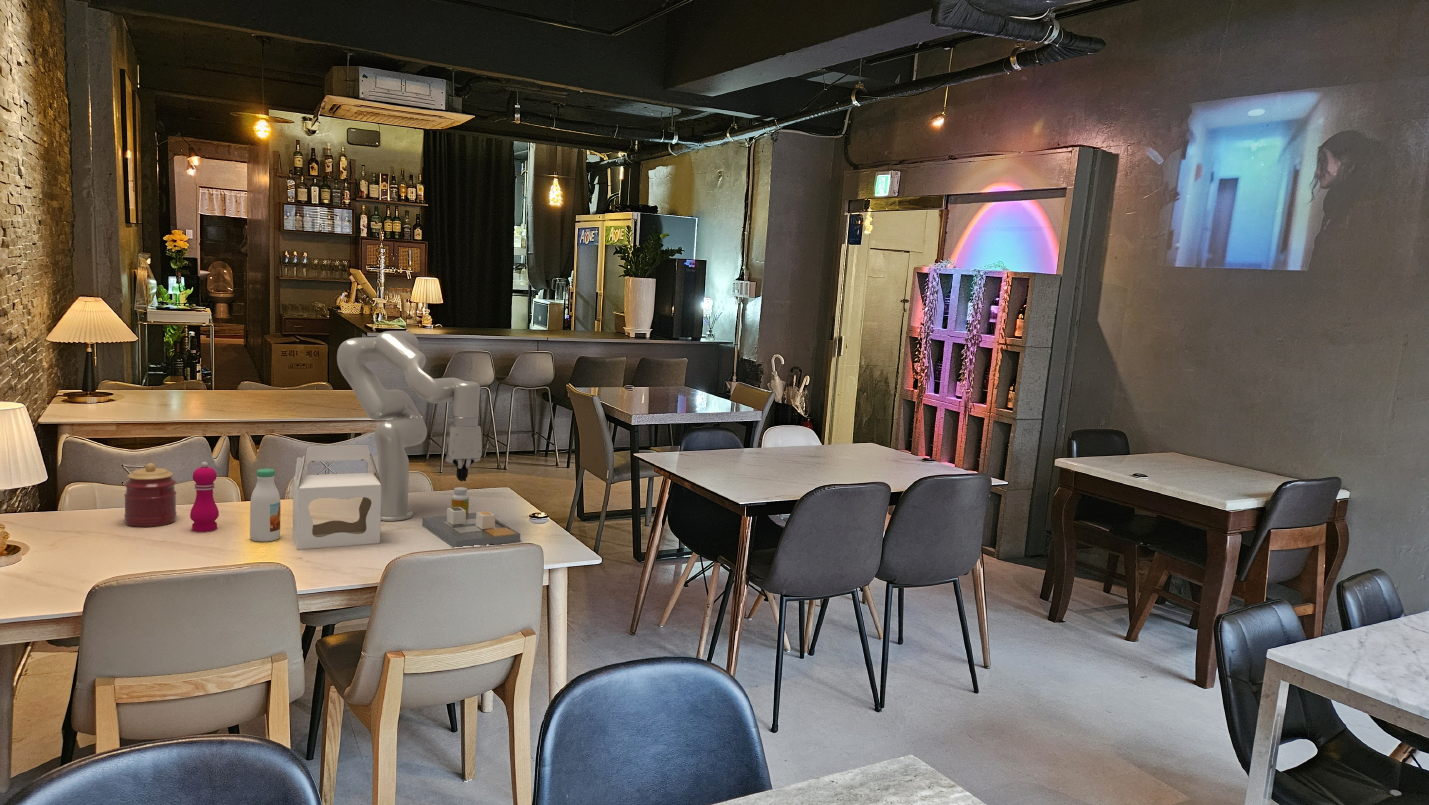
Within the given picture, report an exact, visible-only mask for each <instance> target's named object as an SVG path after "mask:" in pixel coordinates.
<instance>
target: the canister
mask: <svg viewBox="0 0 1429 805" xmlns="http://www.w3.org/2000/svg"><path fill="white" fill-rule="evenodd" d="M173 475H174V473H173V472H172V471H169V470H168V469H166V468H162V467H160V468H159V467H157V466H156V464H155V463H152V462H148V463H147V464H145V467H144V468H140V469H139V468H138V469H135V470H133V471H132V472H130V473H129V474H127V478H128V480H126V481H125V482H124V483H123V485H124V487H125V488H126V489H125V493H124V496H123V497H124V515H123V516H124V518H123V519H124V521H125V524H126V525H127V526H131V527H139V528H147V527H148V528H149V527H150V528H151V527H159V526H165V525H166V526H167V525H168V524H172V523H174V522H175V521H176V518H177V498H176V497H177V491H176V490H175V489H176V488H175V485H176V484H177V480H176V479H174V478H173Z"/></svg>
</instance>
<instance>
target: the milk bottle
mask: <svg viewBox="0 0 1429 805" xmlns="http://www.w3.org/2000/svg"><path fill="white" fill-rule="evenodd" d="M275 472H276V470H275V469H273V468H260V469H257V470H256V478H257V481H256V484H255V487H254V489H253V491H252V493H251V495H250V505H249V506H250V507H249V508H250V509H249V539H250V540H251V541H252V542H259V543H262V542H263V543H264V542H273V541H276V540H279V538H280V537H281V496H280V491H279V489H278V488H277V486H276V484H275V478H276V476H275V475H276V473H275Z"/></svg>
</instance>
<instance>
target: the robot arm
mask: <svg viewBox="0 0 1429 805" xmlns="http://www.w3.org/2000/svg"><path fill="white" fill-rule="evenodd" d="M419 347H420V344H419V340H418V338H417V336H416V335H415V334H414V333H412V332H410V331H409V330H386V331H383V332H382V331H381V333H379V334H378V335H376V337H375V336H374V337H373V336H372V337H354V338H353V337H352V338H349V339H347V340H344V341H343V342H342V343H341V344H340V345H339V347H338V349H337V354H336V362H337V366H338V369H339V371H340V372H341V375H342V376H343V377H344V379H345V380H346V381H347V383H348V384H349V386H350V387H351V389H352V391H353V393H354V395H355V397H356V399H357V401H358V402H359V404H360V405H361V407H362V409H363V411H364V413H365V414H366V416H367V417H368V418H369V419H371V420H373V421H382V422H381V423H379V424H378V425H376V426H377V427H376V428H375V431H374V442H375V446H376V453H377V454H376V455H378V468H379V473H378V476H379V478H380V481H381V484H382V488H381V521H384V522H385V521H387V522H390V521H391V522H396V521H403V520H408V519H410V518H412V517H413V511H412V510H410V509H408V507H409V506H408V505H409V504H408V503H409V476H410V473H409V472H410V471H409V470H410V469H409V468H410V462H409V457H408V455H407V453H406V452H407V451H406V450H405V449H406V448H408V447H413V446H417V445H421V444H422V443H424V441H425V440H426V439H427V435H428V429H427V425H426V423H425V420H424V418H423V417H422V415H421V413H420V411H419V410H418V408H417V407H416V405H415V403H414V401H413V400H412V397H410V395H409V394H407V392H405V391H404V390H402V389H399V388H396V389H395V388H392V389H386V388H385V387H384V386H383V384H382V382H381V381H380V379H379V378H378V375H377V374H376V373H374V372H373V370H371V369H370V368H369V367H367V365H370V364H382V363H390V364H392V365H393V366H394V367H395V368H396V369H397V370H399V371H400V372H401V373H402V374H404V378H405V382H406V384H407V386H408V387H409V389H410V390H411V392H413V394H415V395H416V396H418V397H419V398H420V399H422V400H423V401H424V402H427V403H430V404H433V405H434V404H443V403H453V410H452V415H451V417H448V419H447V422H448V423H451V424H450V425H449V429H448V433H447V439H446V443H445V444H446V445H445V446H446V447H445V455H446V456H445V459H444V461H445V462H447V463H451V464H453V465H454V466H455V467H456V479H457V480H458V481H460V482H467V478H468V476H469V475H468V474H469V469H470V468H471V466H472V465H474V463H477V462H480V461H481V457H482V455H483V441H482V440H483V439H482V429H481V426H480V425H479V412H480V398H481V396H480V395H481V386H480V383H478V382H476V381H470V380H463V379H461V378H459V377H458V378H457V377H441V378H440V377H439V378H433V377H432V376H430V375H429V374H428V373H426V372H425V371H424V370H423V369H424V367H425V365H426V362H427V358H426V355H425V354H424V353H423V352H422V351H420V350H419ZM366 364H367V365H366Z"/></svg>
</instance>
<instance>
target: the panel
mask: <svg viewBox="0 0 1429 805" xmlns="http://www.w3.org/2000/svg"><path fill="white" fill-rule="evenodd" d="M421 520H422V521H421V522H422V523H421V525H422V527H424V528H425V529H427V530H428V531H429V532H431V533H432V534H433V535H435V536H436V537H437V538H439V539H440V540H442V541H443V542H444V543H445V544H448V545H449V546H450V547H451V548H453V547H463V546H474V545H487V544H497V545H501V544H500V543H505V544H511V543H510V542H513V543H520V542H521V533H520V532H519V531H517V530H515V529H514V528H511V527H510V526H508V525H506V524H504V523H503V522H501V521H500V520H498V519H496V518H495V528H489V529H481V528H480V527H478V526H476V512H468V513H467V514H466V523H465V524H455V525H453V524H451V523H450V522H448V521H447V514H446V515H439V516H427V517H422V519H421Z"/></svg>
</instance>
